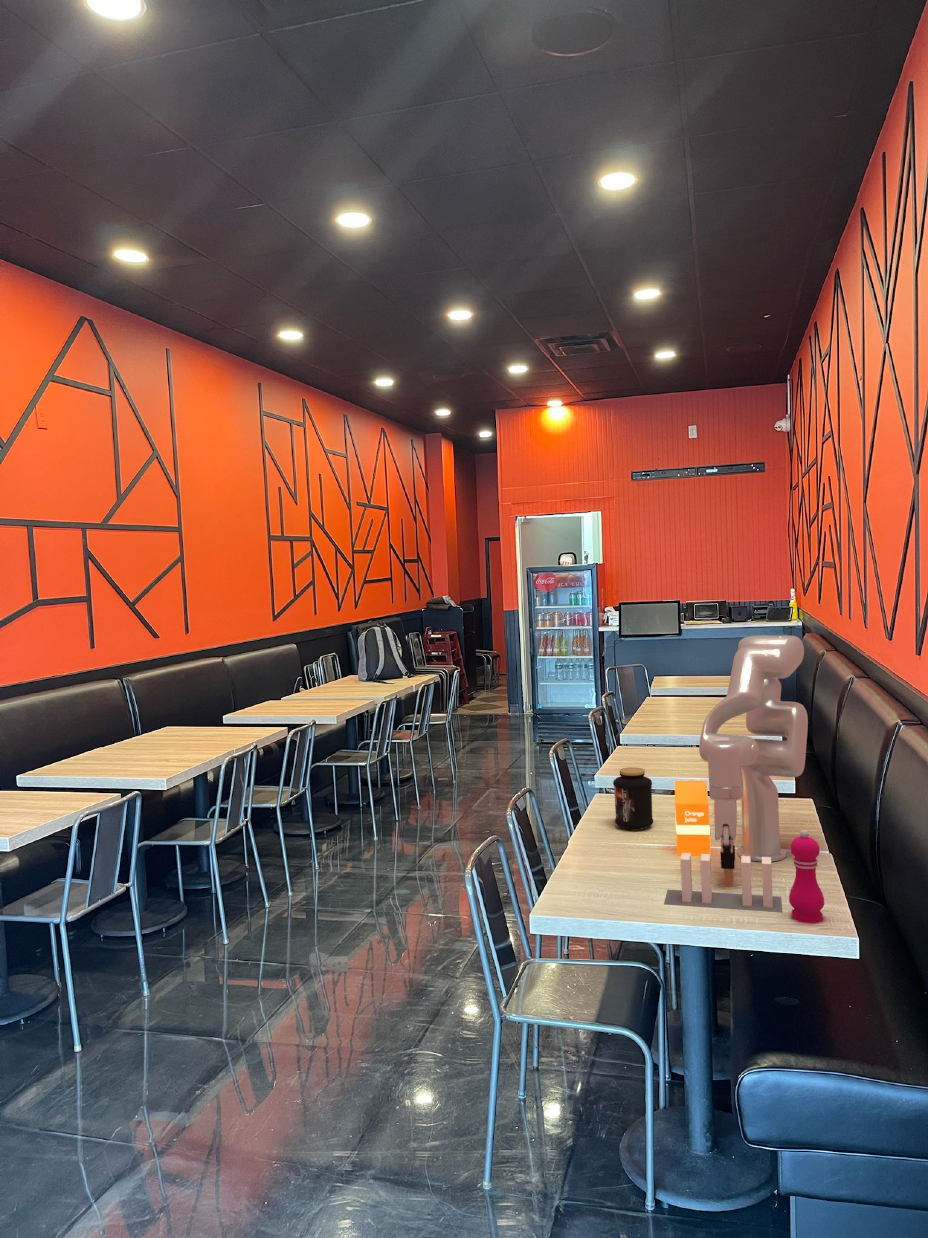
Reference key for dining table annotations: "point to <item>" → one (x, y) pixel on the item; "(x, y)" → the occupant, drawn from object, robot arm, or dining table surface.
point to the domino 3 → (728, 876)
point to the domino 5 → (767, 882)
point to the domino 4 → (746, 880)
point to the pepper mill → (806, 880)
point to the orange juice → (692, 817)
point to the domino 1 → (686, 877)
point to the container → (633, 799)
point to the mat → (723, 901)
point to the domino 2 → (706, 878)
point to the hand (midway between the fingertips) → (728, 864)
